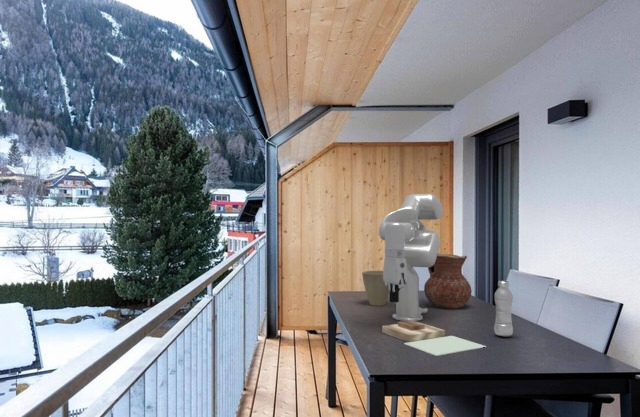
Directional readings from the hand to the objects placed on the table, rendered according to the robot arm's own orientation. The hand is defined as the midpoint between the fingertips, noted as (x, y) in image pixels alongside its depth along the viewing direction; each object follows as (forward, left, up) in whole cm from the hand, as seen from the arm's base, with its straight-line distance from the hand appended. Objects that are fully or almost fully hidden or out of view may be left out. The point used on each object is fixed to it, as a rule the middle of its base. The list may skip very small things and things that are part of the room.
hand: (394, 301), depth 186 cm
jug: (-52, -25, -11) cm, 58 cm away
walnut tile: (-1, +10, -7) cm, 12 cm away
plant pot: (-24, -44, -11) cm, 51 cm away
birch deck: (-1, +11, -10) cm, 15 cm away
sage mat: (-1, +27, -10) cm, 29 cm away
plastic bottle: (-29, +28, -11) cm, 41 cm away
